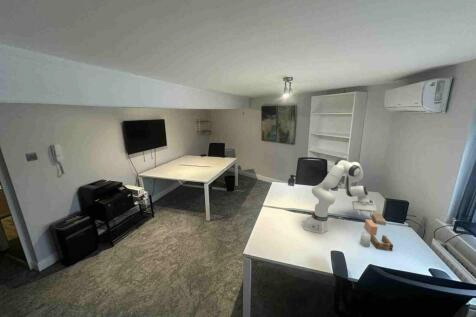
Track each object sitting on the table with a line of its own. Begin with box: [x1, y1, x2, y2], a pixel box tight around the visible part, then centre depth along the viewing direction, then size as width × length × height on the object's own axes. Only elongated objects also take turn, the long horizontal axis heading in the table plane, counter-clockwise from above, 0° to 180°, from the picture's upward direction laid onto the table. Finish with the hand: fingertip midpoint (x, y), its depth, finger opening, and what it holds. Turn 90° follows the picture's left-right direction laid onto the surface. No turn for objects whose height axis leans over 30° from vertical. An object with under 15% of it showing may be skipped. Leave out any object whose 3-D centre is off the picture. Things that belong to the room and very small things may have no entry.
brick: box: [370, 212, 387, 226], centre depth 186 cm, size 17×8×5 cm, turn 160°
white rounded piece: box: [359, 231, 371, 248], centre depth 152 cm, size 6×6×9 cm
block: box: [364, 218, 378, 236], centre depth 169 cm, size 5×12×8 cm, turn 166°
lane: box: [370, 234, 394, 252], centre depth 151 cm, size 11×12×5 cm
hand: (365, 215), depth 181 cm, fingers open, 8 cm apart
